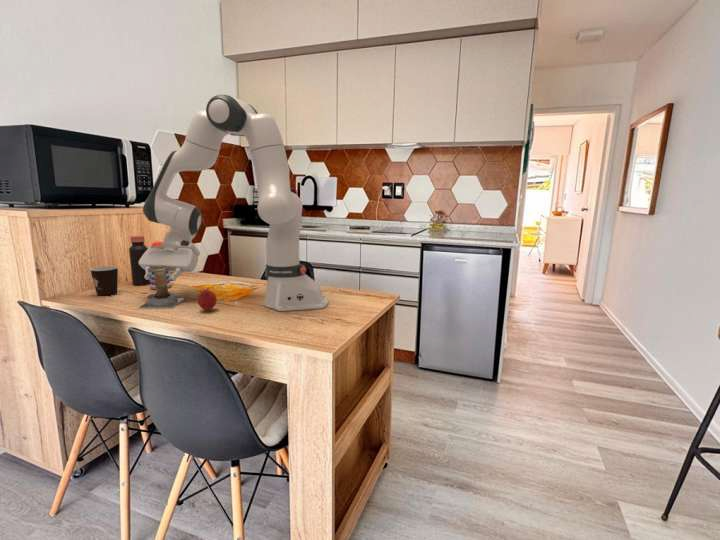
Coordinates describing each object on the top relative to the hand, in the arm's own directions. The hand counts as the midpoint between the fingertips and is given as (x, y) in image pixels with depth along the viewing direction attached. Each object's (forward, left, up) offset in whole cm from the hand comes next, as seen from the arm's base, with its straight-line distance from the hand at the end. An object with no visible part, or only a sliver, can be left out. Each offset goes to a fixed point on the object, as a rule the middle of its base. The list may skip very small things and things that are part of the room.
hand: (159, 279), depth 135 cm
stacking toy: (+10, -24, -9) cm, 27 cm away
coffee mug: (+26, -15, -9) cm, 31 cm away
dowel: (0, -1, -8) cm, 8 cm away
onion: (-18, +8, -9) cm, 22 cm away
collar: (0, -1, -9) cm, 9 cm away
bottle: (+20, -30, -9) cm, 37 cm away
